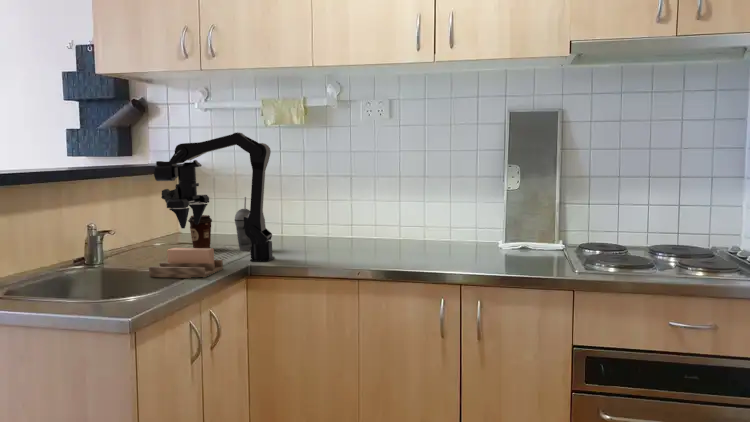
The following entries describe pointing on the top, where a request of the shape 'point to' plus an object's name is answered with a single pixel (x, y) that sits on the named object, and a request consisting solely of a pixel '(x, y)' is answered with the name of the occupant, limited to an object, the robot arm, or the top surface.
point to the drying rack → (185, 269)
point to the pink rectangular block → (191, 255)
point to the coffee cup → (201, 232)
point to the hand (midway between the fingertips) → (190, 226)
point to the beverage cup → (239, 222)
